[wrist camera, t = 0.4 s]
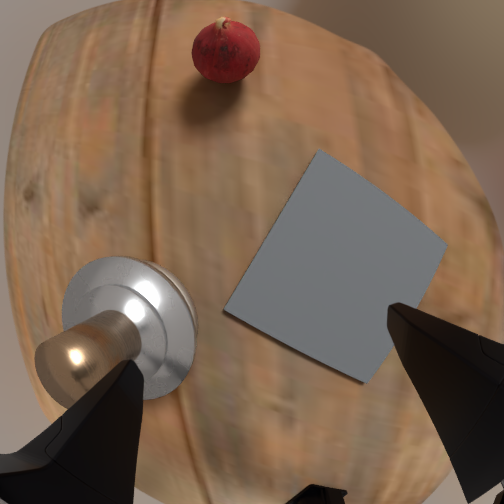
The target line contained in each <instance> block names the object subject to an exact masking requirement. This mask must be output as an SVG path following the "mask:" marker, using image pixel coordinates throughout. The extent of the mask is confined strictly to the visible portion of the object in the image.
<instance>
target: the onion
mask: <svg viewBox="0 0 504 504" xmlns="http://www.w3.org/2000/svg"><path fill="white" fill-rule="evenodd" d="M192 58H193V62H194V66H195V67H196V69H197V70H198V71H199V72H200V73H201V74H202V75H203V76H204V77H205V78H207V79H210V80H212V81H215V82H218V83H233V82H235V81H238V80H241V79H243V78H245V77H246V76H247V75H248V74H249V73H251V72H252V71H253V70H254V68H255V66H256V64H257V63H258V61H259V58H260V44H259V41H258V39H257V37H256V35H255V33H254V32H253V30H251V29H250V28H249V27H247V26H245V25H243V24H242V23H239V22H235V21H231V19H230V18H228V17H221V18H219V19H217V20H216V23H213V24H211V25H209V26H207V27H205V28H204V29H203V30H201V32H200V33H199V34H198V35H197V37H196V38H195V40H194V43H193V48H192Z"/></svg>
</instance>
